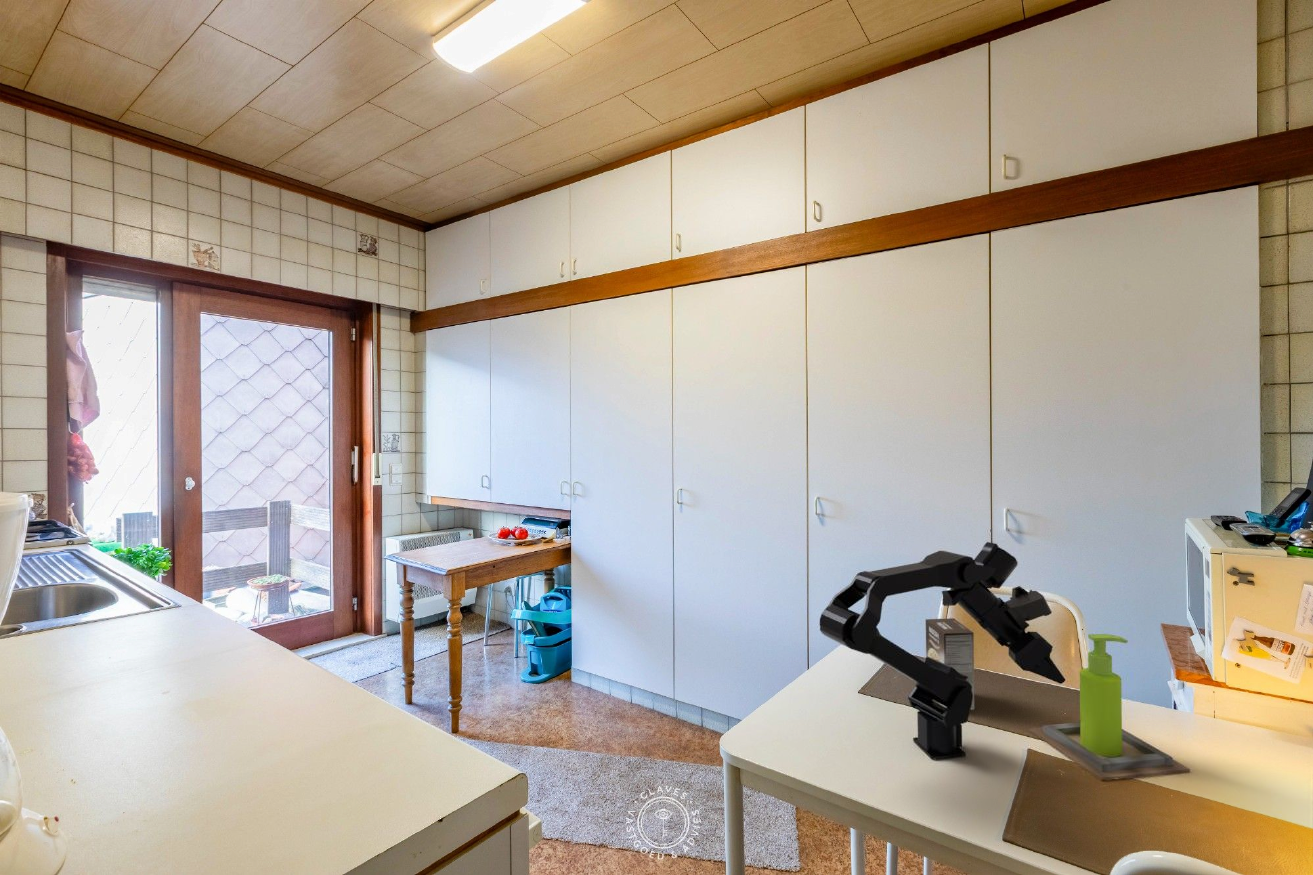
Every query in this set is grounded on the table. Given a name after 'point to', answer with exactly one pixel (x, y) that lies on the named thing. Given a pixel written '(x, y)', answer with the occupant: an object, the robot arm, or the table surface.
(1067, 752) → the grey rectangular tray
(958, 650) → the coffee box
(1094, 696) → the soap dispenser
